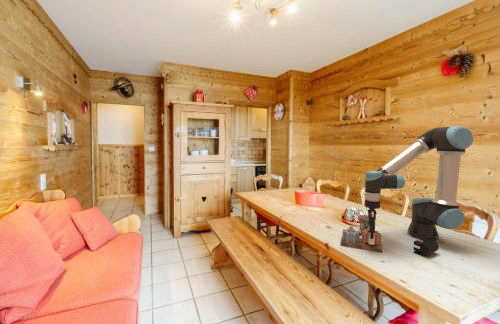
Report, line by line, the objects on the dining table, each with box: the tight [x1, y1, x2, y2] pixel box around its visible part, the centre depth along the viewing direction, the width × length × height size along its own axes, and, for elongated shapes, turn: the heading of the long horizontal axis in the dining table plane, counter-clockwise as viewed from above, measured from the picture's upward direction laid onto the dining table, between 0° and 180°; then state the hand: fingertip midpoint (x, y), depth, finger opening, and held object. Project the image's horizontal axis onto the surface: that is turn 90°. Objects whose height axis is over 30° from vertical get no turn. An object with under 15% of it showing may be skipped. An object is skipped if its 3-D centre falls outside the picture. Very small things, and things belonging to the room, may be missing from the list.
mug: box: [357, 214, 369, 235], centre depth 146 cm, size 12×9×11 cm
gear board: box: [340, 225, 383, 253], centre depth 129 cm, size 20×10×10 cm, turn 65°
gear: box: [341, 227, 361, 243], centre depth 131 cm, size 9×9×5 cm
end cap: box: [412, 238, 440, 257], centre depth 119 cm, size 10×7×7 cm
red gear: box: [361, 229, 382, 245], centre depth 127 cm, size 9×9×5 cm
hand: (371, 240), depth 127 cm, fingers closed on red gear, 9 cm apart
